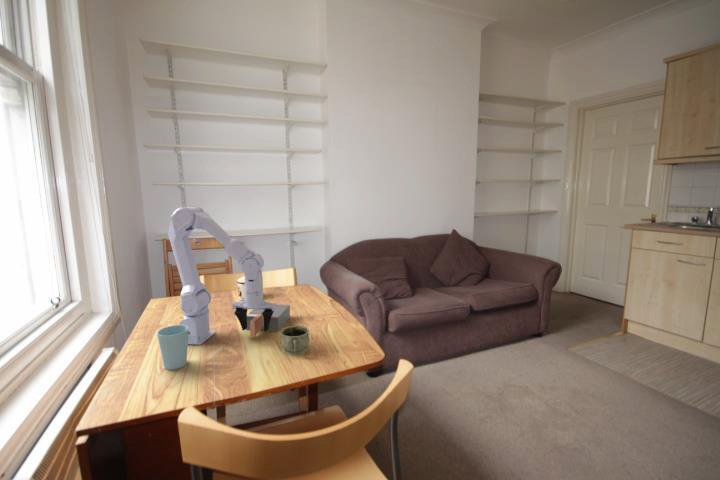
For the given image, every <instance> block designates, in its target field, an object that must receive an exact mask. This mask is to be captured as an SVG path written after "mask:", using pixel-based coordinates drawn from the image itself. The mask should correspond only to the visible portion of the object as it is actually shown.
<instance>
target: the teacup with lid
mask: <svg viewBox="0 0 720 480" xmlns="http://www.w3.org/2000/svg"><path fill="white" fill-rule="evenodd" d="M236 283H237V297H238V300H239V301H240V302H245V275H244V276H241V277H240V278H238V279H237V280H236Z"/></svg>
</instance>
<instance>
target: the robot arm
mask: <svg viewBox="0 0 720 480" xmlns="http://www.w3.org/2000/svg"><path fill="white" fill-rule="evenodd" d="M169 219H170V224H169V225H170V226H169V228H168V229H169V230H168V233H167V234H168V240H169V243H170V246H171V249H172V253H173V257H174V259H175V263H176V267H177V270H178V274H179V277H180V281H181V284H182V289H181V292H180V295H179V296H180V300H181V301H180V306H179V307H180V309H181V312H182V314H183V313H184V317H183V319H182V320H181V321H180V322H179V324H178V325H185V326H188V328H189V331H188V345H202V344H203V343H204V342H206V341H208V340H209V339H210V338H211V337H212V336H214V335H216V331H213V330H212V331H211V329H210V324H211V323H210V309H209V305H210V303H211V302H212V295H211V293H210V292H209V291H208V290H207V287H206V285H205V283H203V282H202V281H201V279H200V276H199V271H198V267H197V263H196V260H195V257H194V253H193V250H192V246H191V245H192V244H191V243H190V239H189V237H190V235H191V234H192V232H193V231H194V229H195V230H196V229H197V230H202V231H203V230H204V231H205V232H206V233H208V234H209V235H211V236H212V238H214V239H216V240H217V241H218V242H219V243H221V244H222V245H223V246H224V252H225V253H226V254H227V255H229V256H230V258H232V259H233V260H234V261H236V263H237V264H238V265H240V267H241V270H242V272H243V273H244V276H245V301H234V302H233V303H232V310H235V311H234V315H235V316H236V317H237V319H238V322H239V323H240V327H241V330H242V331H246V328H247V314H248V310H254V309H258V310H265V311H264V312H263V313H262V315H263V319H264V332H268V331H267V330H268V328H269V323H270V319H271V317H272V314H273V312H274V311H275V310H276V309H277V306H276V304H277V303H273V302H266V301H264V279H263V269H262V268H263V267H264V264H265V261H264V258H263V256H261V255H260V254H259V253H256V251H254V250H251V249H250V248H249V247H248V246H247V245H245V243H246V242H245V241H244V239H243V240H242V239H239V238H232V236H230V235H229V234H228V233H227V232H226V231H225V230H224V229H223V228H222V227H221V226H220V225H219V224H218V223H217V222H216V221H215V220H214V219H213V217H212V216H211V215H210V214H209V213H208V212H206V211H205V210H204V209H203V208H202V207H200V206H196V205H195V206H189V207H186V206H185V207H184V206H181V207H178V208H176V209H175V210H173V213H172V214H171V215H170V216H169Z"/></svg>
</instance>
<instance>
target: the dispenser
mask: <svg viewBox="0 0 720 480" xmlns="http://www.w3.org/2000/svg"><path fill="white" fill-rule="evenodd" d="M276 306H277V309H276V310H275V311H274V312H273V314H272V317H271V319H270V323H269V328H268V330H267V331H266V332H279V331H281V330H282V327H284V325H285V324H286V323H287V321H288V320H289V319H290V317H291V305H290V304H277V303H276ZM264 311H265V310H258V309H251V311H249V313H247V328H246V329H245V331H250V321H251V320H252V319H253V318H254V317H255V316H256V315H257V314H262V313H263V312H264ZM262 316H263V315H262ZM260 331H264V327H263V328H262V329H261V330H260ZM264 332H265V331H264Z"/></svg>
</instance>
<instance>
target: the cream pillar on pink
mask: <svg viewBox="0 0 720 480" xmlns="http://www.w3.org/2000/svg"><path fill="white" fill-rule="evenodd" d="M263 327H264V319H263V316H262V314H257V315H256V316H255V317H254V318H253V319H252V320H251V321H250V330H249V335H250V337H255V336H256V335H257V334H258V333H260V331H261V329H262V328H263Z"/></svg>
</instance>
